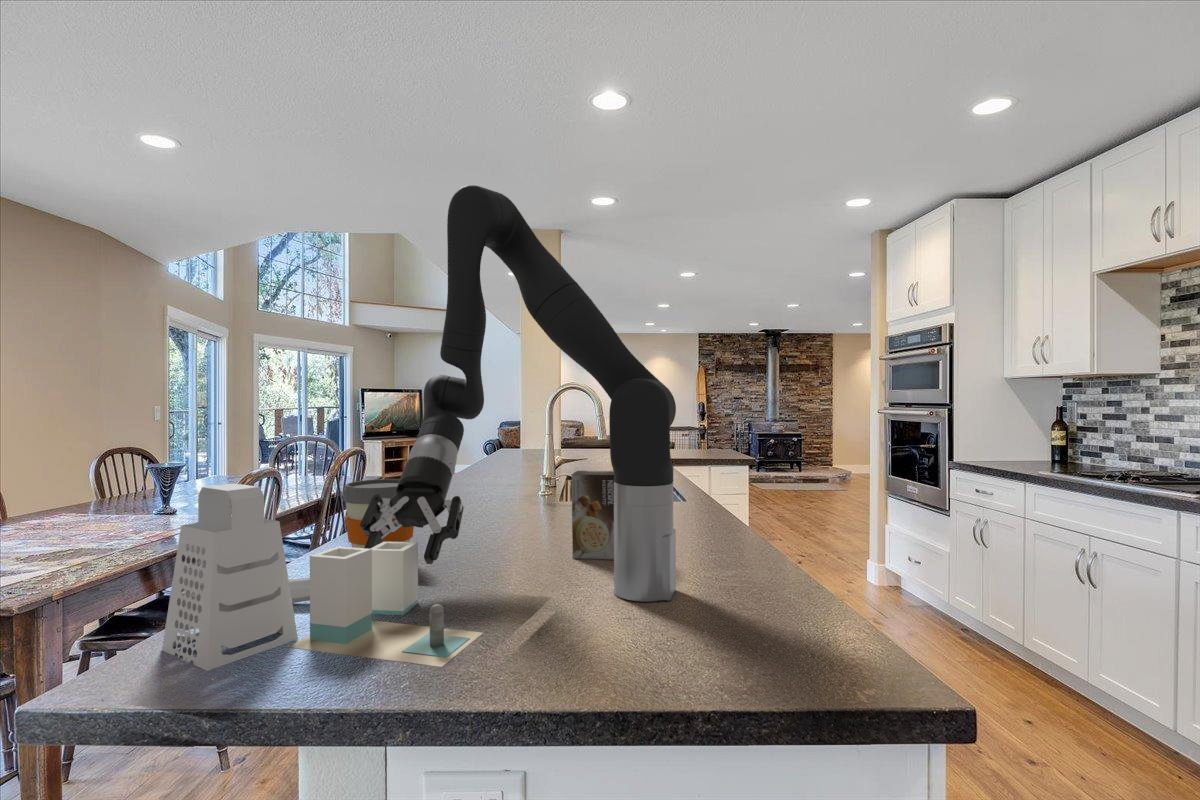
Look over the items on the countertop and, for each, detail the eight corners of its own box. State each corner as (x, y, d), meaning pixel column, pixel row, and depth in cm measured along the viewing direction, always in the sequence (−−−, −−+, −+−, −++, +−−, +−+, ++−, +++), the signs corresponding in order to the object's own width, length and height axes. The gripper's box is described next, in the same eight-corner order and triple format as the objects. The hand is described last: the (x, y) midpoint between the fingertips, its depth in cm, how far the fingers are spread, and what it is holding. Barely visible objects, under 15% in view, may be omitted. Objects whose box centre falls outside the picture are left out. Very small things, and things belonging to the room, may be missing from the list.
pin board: (483, 644, 76) (483, 593, 76) (441, 680, 66) (441, 622, 66) (344, 628, 81) (344, 581, 81) (287, 659, 72) (287, 605, 72)
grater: (206, 685, 65) (205, 496, 65) (159, 663, 71) (159, 489, 71) (299, 651, 74) (299, 484, 74) (251, 633, 80) (251, 478, 80)
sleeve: (418, 613, 87) (417, 542, 87) (403, 626, 82) (403, 551, 82) (384, 611, 88) (383, 541, 88) (367, 624, 83) (367, 550, 83)
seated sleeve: (372, 628, 77) (371, 548, 77) (345, 644, 73) (345, 558, 73) (338, 625, 79) (337, 546, 79) (309, 639, 74) (309, 556, 74)
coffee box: (623, 552, 122) (623, 470, 122) (618, 560, 116) (618, 474, 115) (577, 550, 123) (577, 469, 123) (570, 558, 117) (570, 473, 117)
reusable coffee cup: (404, 575, 106) (404, 488, 106) (331, 575, 106) (330, 488, 106) (425, 557, 118) (425, 478, 118) (360, 556, 119) (360, 478, 118)
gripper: (379, 454, 97) (340, 544, 85) (467, 455, 95) (441, 547, 84) (393, 483, 102) (359, 572, 91) (477, 484, 101) (453, 575, 89)
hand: (398, 560), depth 87 cm, fingers open, 8 cm apart
